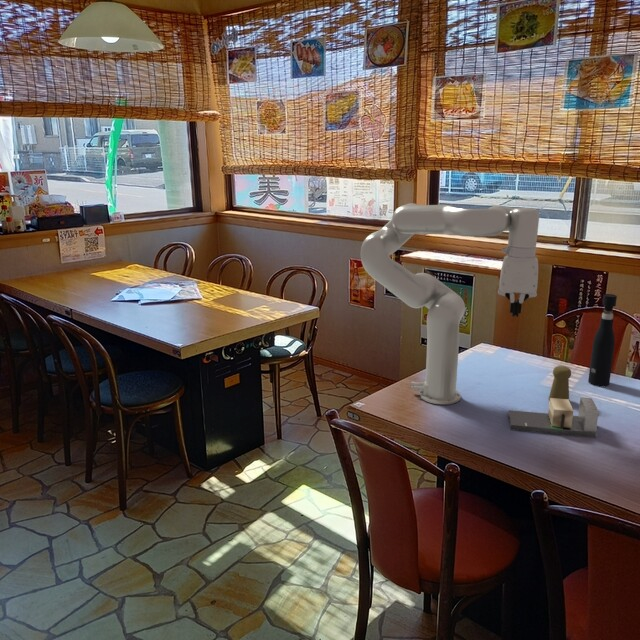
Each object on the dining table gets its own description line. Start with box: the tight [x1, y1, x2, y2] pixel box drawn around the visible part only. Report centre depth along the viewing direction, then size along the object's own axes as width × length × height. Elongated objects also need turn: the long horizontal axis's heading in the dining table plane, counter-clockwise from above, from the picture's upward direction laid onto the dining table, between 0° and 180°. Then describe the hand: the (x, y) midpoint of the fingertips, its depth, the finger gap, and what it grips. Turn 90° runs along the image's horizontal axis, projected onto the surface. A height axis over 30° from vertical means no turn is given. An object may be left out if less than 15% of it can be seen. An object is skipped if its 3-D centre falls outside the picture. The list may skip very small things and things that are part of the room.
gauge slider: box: [547, 398, 574, 428], centre depth 168 cm, size 5×9×5 cm, turn 167°
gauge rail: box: [507, 397, 599, 438], centre depth 169 cm, size 22×10×8 cm, turn 77°
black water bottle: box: [587, 293, 618, 388], centre depth 196 cm, size 6×6×30 cm
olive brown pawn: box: [548, 365, 572, 402], centre depth 185 cm, size 6×6×11 cm
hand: (514, 315), depth 174 cm, fingers closed
